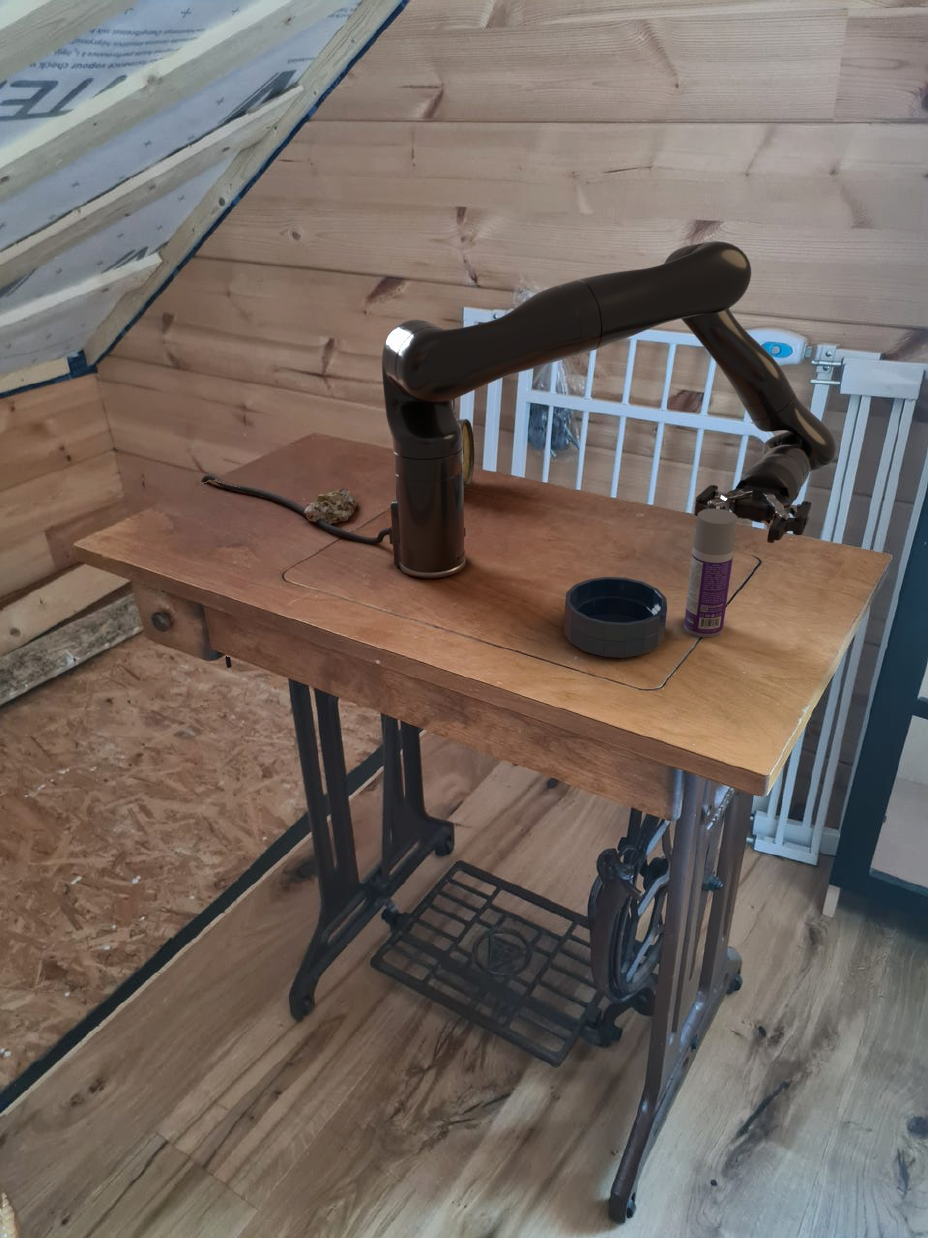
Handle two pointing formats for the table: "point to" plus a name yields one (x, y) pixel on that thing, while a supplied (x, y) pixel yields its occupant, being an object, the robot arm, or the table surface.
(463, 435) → the alarm clock
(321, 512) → the mineral rock
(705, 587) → the container
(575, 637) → the bowl
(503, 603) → the table surface
